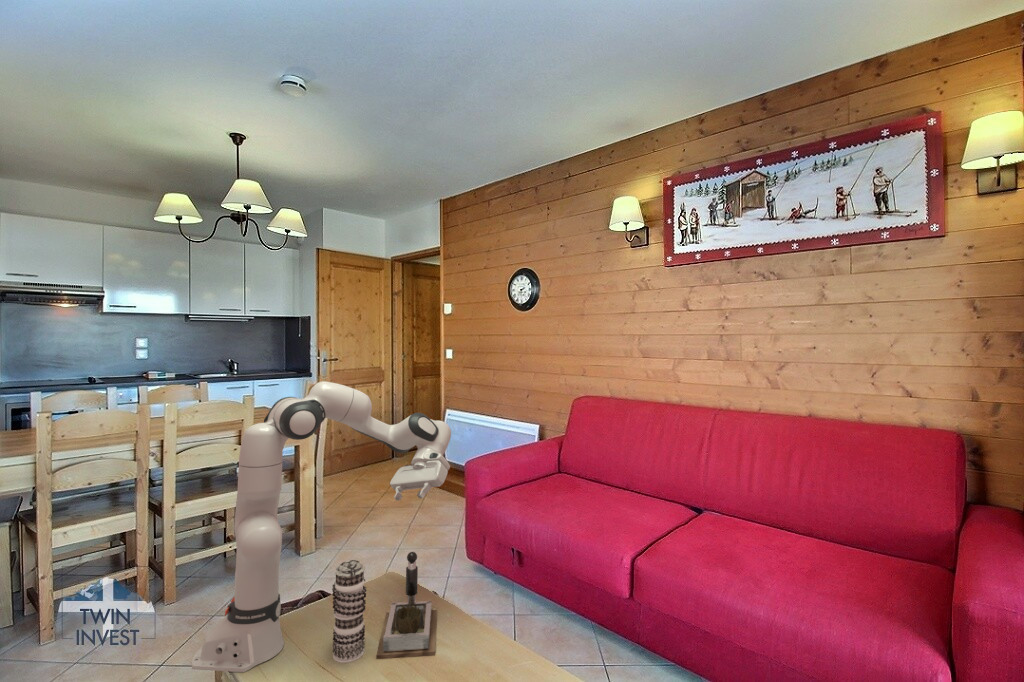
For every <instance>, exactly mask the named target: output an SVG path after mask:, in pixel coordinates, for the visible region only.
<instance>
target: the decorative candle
mask: <svg viewBox="0 0 1024 682" xmlns="http://www.w3.org/2000/svg"><path fill="white" fill-rule="evenodd" d="M365 571H366V566H365V565H364V564H363V563H362V562H360V561H359V560H356V559H351V560H350V559H349V560H346V561H343V562H342V563H340V564H339V565H338V566H337V567H336V569H335V570H334V573H335V581H334V584H332V589H331V590H332V594H331V595H332V605H333V606H332V609H333V617H334V618H335V619H334V626H333V627H334V628H333V631H332V634H333V638H332V640H333V642H332V658H333V660H334V661H335V662H338V663H339V664H340V663H341V664H347V663H352V662H355V661H357V660H359V659H360V658H362V657H363V655H364V654H365V647H366V646H365V645H366V643H365V639H366V638H365V635H366V634H365V632H366V625H365V623H364V619H365V618H364V612H365V611H366V604H367V603H366V601H367V600H366V598H367V593H366V592H367V587H366V586H365V582H366V579H365V575H364V574H365Z"/></svg>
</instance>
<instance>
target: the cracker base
mask: <svg viewBox="0 0 1024 682" xmlns="http://www.w3.org/2000/svg"><path fill="white" fill-rule="evenodd" d="M410 607H411V606H409V608H410ZM416 607H417V609H418V607H419V610H420V609H421V619H420V625H419V629H418V630H424V627H425V615H426V613H423V606H416ZM399 608H400V609H401V607H397V610H396V613H398V609H399ZM405 608H407V607H405ZM389 613H390V611H388V612H386V611H385V616H384V620H383V624H382V629H381V633H380V636H379V641H378V647H377V650H376V655H375V659H376V660H381V659H382V660H385V659H395V658H397V659H398V658H413V657H414V658H415V657H426V656H427V657H429V656H435V655H436V640H437V639H436V635H437V621H438V620H437V616H438V614H437V613H438V609H431V622H430V637H429V649H419V650H404V651H389V652H383V637H384V635H385V631H386V627H387V622H388V617H389ZM395 631H398V629H397V622H396V617H395V622H394V627H393V632H392V634H395Z"/></svg>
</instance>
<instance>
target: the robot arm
mask: <svg viewBox="0 0 1024 682" xmlns="http://www.w3.org/2000/svg"><path fill="white" fill-rule="evenodd" d="M372 412H373V404H372V401H371V399H370V396H369V395H368V394H366V393H365V392H362V390H359V389H356V388H353V387H350V386H347V385H344V384H341V383H336V382H331V381H324V380H323V381H318V382H317V383H315V384H314V385H313V386H312V387H311V389H310V390H309V392H308V395H307V396H305V397H303V398H298V397H295V396H287V397H282V398H280V399H278V400H277V401H275V403H274V404H273V405H272V407H271V408H270V410H269V412H267V413H266V416H265V417H264V419H263V422H259V423H255V424H253V425H251V426H248V427H247V428H246V430H245V431H244V433H243V437H242V438H241V439H242V440H241V445H240V450H239V457H238V473H237V491H236V492H237V494H236V503H235V511H234V512H235V513H234V527H233V528H234V529H233V530H234V535H235V544H236V560H235V571H234V572H235V574H234V596H233V597H232V599H231V600H230V603H229V604H228V605H227V608H226V609H225V611H224V616H225V617H224V618H222V619H221V620H219V621H218V622H217V623H215V625H214V626H212V628H211V629H210V630H209V631H208V632H207V634H206V636H205V638H204V641H203V643H202V645H201V646H200V647H199V648H198V650H197V651H196V652H195V654H194V656H193V657H192V660H191V665H190V666H191V670H197V671H198V670H199V671H215V672H228V673H229V672H232V673H245V672H247V671H249V670H250V669H252V668H254V667H255V666H257V665H260V664H263V663H265V662H267V661H268V660H271V659H272V658H274V657H275V656H277V655H278V654H279V653H280V652H281V651H282V650H283V648H284V646H285V640H284V638H283V633H282V629H281V623H280V622H281V621H280V615H281V604H282V603H281V595H280V593H279V588H280V587H279V582H280V580H279V579H280V564H281V563H280V562H281V557H282V555H281V553H282V545H283V542H282V541H283V530H282V527H281V526H280V522H279V518H278V517H279V516H278V509H279V501H280V496H281V491H282V483H283V482H282V480H283V477H282V476H283V461H284V460H283V457H284V456H283V453H284V452H283V450H284V447H285V444H286V442H287V441H288V440H289V439H290V440H295V441H300V440H306V439H308V438H310V437H312V436H313V435H314V434H315V433H316V431H317V430H318V429H319V427H320V425H321V424H323V422H324V421H325V419H329V420H332V421H335V422H337V423H341V424H344V425H346V426H348V427H350V428H351V429H352V430H353V431H355V432H358V433H359V434H361V435H364V436H366V437H369V438H371V439H374V440H376V441H378V442H380V443H382V444H384V445H385V446H387V447H388V448H389V449H391V450H392V451H394V452H396V453H399V454H404V453H407V452H409V451H410V450H411V449H413V448H414V447H417V450H416V452H415V454H414V456H413V458H412V460H411V462H410V463H411V464H405V465H404V466H401V467H399V469H397V471H396V472H395V474H394V475H393V477H392V478H391V480H390V482H389V485H390V487H391V488H392V489H393V490H394V491H395V495H394V496H393V498H394V500H395V501H401V500H402V499H403V495H402V493H403V492H404V491H407V490H409V491H410V490H418V489H421V490H418V492H417V494H416V496H417V498H418V499H424V498H425V495H427V494H428V493H429V491H431V490H432V488H437V487H438V488H439V487H441V486H443V484H444V483H445V481H446V478H447V476H448V471H449V470H450V468H451V464H450V463H449V461H448V460H447V459H446V458H445V457H444V454H445V453H446V451H447V449H448V447H449V444H450V441H451V437H452V430H451V428H450V426H449V425H448V424H447V423H446V422H445V421H442V420H437V419H436V420H434V419H431V418H430V417H429V416H427V415H426V414H424V413H422V412H414V413H412V414H410V415H409V416H408V417H406V418H404V419H403V420H402V421H400V422H399V423H395V424H388V423H386V422H383V421H381V420H379V419H377V418H374V417H373V416H372Z"/></svg>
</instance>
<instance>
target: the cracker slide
mask: <svg viewBox="0 0 1024 682" xmlns="http://www.w3.org/2000/svg"><path fill="white" fill-rule="evenodd" d="M406 560H407V566H406V567H405V569H406V570H405V575H406V576H405V595H406V596H407V602H406V601H405V602H391V605H390V609H389V612H390V613H389V617H388V622H387V627H386V631H385V635H384V637H383V652H389V651H404V650H419V649H429V637H430V622H431V610H432V600H426V601H416V595H418V581H419V580H418V576H419V575H418V571H419V569H418V568H419V567H418V566H417V564H416V563H417V560H418V554H417V553H416V552H415V551H410V552H408V554H407V556H406ZM408 605H409V606H412V605H413V606H423V613H426V615H425V627H424V629H423V632H416V633H407V634H400V633H394V634H392V632H393V627H394V622H395V617H396V610H397V607H402V606H405V607H407V606H408Z"/></svg>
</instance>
